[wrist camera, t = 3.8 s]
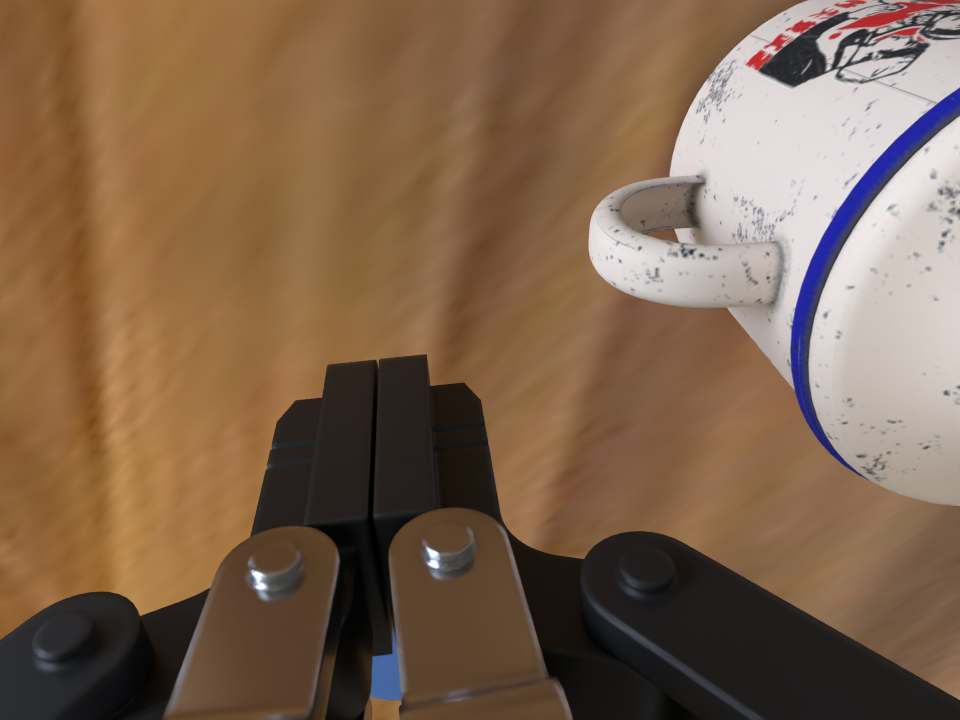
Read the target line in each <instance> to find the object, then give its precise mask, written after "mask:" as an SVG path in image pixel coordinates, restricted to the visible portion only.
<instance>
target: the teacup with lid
mask: <svg viewBox="0 0 960 720" xmlns="http://www.w3.org/2000/svg"><path fill="white" fill-rule="evenodd" d="M671 229H675V232H676V235H677V238H678V240H679V242H673V241H668V240H663V239H659V238H655V237H651V236H648V235H645V234H646V233H651V232H656V231H663V230H671ZM589 254H590V258H591V261H592V263H593V265H594V267H595V269H596V270H597V272H598V273H599V274H600V275H601V277H603V278H604V279H605V280H606V281H607V282H608V283H610V284H611V285H612V286H614V287H615V288H617V289H619V290H621V291H623V292H625V293H627V294H630V295H632V296H635V297H638V298H642V299H645V300H648V301H652V302H657V303H661V304H666V305H672V306H680V307H692V308H727V309H728V310H729V311H730V312H731V314H732V315H733V316H734V317H735V318H736V320H737V321H738V322H739V323H740V325H741V326H742V327H743V328H744V329H745V331H746V332H747V333H748V334H749V336H750V337H751V338H752V339H753V340H754V342H755V343H756V344H757V345H758V346H759V348H760V349H761V350H762V351H763V353H764V354H765V355H766V356H767V357H768V359H769V360H770V361H771V362H772V364H773V365H774V366H775V367H776V368H777V370H778V371H779V372H780V373H781V375H782V376H783V377H784V378H785V379H786V381H787V382H788V383H789V384H790V386H791V387H792V388H793V389H794V390H795V393H796V396H797V399H798V402H799V406H800V408H801V411H802V413H803V415H804V417H805V419H806V421H807V423H808V425H809V427H810V428H811V430H812V431H813V433H814V434H815V436H816V437H817V439H818V440H819V441H820V442H821V444H822V445H823V446H824V447H825V448H826V449H827V450H828V452H829V453H830V454H831V455H833V456H834V457H835V458H836V459H837V460H838V461H840V462H841V463H842V464H843V465H844V466H846V467H847V468H849V469H850V470H852V471H853V472H855V473H856V474H858V475H860V476H862V477H864V478H866V479H868V480H870V481H872V482H873V483H875V484H877V485H879V486H881V487H883V488H885V489H887V490H889V491H892V492H895V493H898V494H901V495H904V496H907V497H910V498H914V499H918V500H923V501H927V502H931V503H937V504H945V505H953V506H960V1H958V0H807V1H805V2H802V3H800V4H797V5H795V6H793V7H791V8H789V9H787V10H786V11H784V12H782V13H780V14H778V15H777V16H775V17H773V18H772V19H770V20H769V21H767V22H765V23H764V24H762V25H761V26H760V27H759V28H757V29H756V30H755V31H753V32H752V33H751V34H749V35H748V36H747V37H746V38H745V39H744V40H742V41H741V42H740V43H739V44H738V45H737V46H736V47H735V48H734V49H733V50H732V51H731V52H730V53H729V54H728V55H727V56H726V57H725V58H724V59H723V60H722V61H721V62H720V64H719V65H718V66H717V67H716V69H715V70H714V71H713V72H712V74H711V75H710V76H709V77H708V79H707V80H706V82H705V83H704V85H703V86H702V88H701V89H700V91H699V92H698V94H697V96H696V98H695V99H694V101H693V103H692V105H691V106H690V108H689V111H688V113H687V115H686V117H685V119H684V121H683V124H682V127H681V129H680V132H679V135H678V138H677V141H676V145H675V149H674V152H673V156H672V162H671V168H670V177H666V178H658V179H651V180H646V181H641V182H637V183H633V184H630V185H627V186H625V187H622V188H620V189H618V190H616V191H614V192H613V193H611V194H610V195H608V196H607V197H605V198H604V199H603V200H602V201H601V202H600V203H599V205H598V206H597V207H596V209H595V211H594V213H593V215H592V218H591V222H590V229H589Z"/></svg>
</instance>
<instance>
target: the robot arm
mask: <svg viewBox="0 0 960 720" xmlns="http://www.w3.org/2000/svg"><path fill="white" fill-rule="evenodd" d="M267 468H268V469H266V471H265V476H264V480H263V484H262V489H261V493H260V497H259V502H258V506H257V510H256V515H255V519H254V523H253V527H252V532H251V536H250V538H248V539H246V540H245V541H243V542H242V543H240V544H239V545H238V546H236V547H235V548H234V549H233V550H232V551H231V552H230V553H229V554H228V555H227V556H226V557H225V558H224V560H223V561H222V563H221V564H220V566H219V568H218V570H217V572H216V575H215V577H214V580H213V583H212V585H211V587H210V588H209V589H207V590H205V591H203V592H201V593H200V594H198V595H195V596H193V597H191V598H188V599H186V600H183V601H180V602H178V603H175V604H172V605H169V606H167V607H164V608H161V609H158V610H156V611H153V612H150V613H148V614H145V615H142V616H140V615H139V613H138V610H137V608H136V607H135V605H134V604H133V603H132V602H131V601H130V600H129V599H127V598H126V597H124V596H122V595H119V594H115V593H111V592H90V593H85V594H80V595H76V596H73V597H69V598H66V599H64V600H61V601H59V602H57V603H54V604H53V605H51V606H49V607H47V608H45V609H43V610H42V611H40V612H39V613H37V614H36V615H34V616H33V617H31V618H30V619H28V620H27V621H26V622H24V623H23V624H22V625H20V626H19V627H18V628H16V629H15V630H13V631H12V632H11V633H9V634H8V635H7V636H5V637H4V638H3V639H1V640H0V720H372V705H371V700H370V694H371V686H372V657H373V656H381V655H390V654H393V630H394V635H395V641H396V646H397V657H398V668H399V678H400V689H401V702H402V706H399V720H960V700H958V699H957V698H955V697H953V696H951V695H950V694H948V693H946V692H944V691H943V690H941V689H939V688H937V687H936V686H934V685H932V684H930V683H929V682H927V681H925V680H923V679H922V678H920V677H918V676H916V675H914V674H913V673H911V672H909V671H907V670H906V669H904V668H902V667H900V666H899V665H897V664H895V663H893V662H892V661H890V660H888V659H886V658H885V657H883V656H881V655H879V654H878V653H876V652H874V651H872V650H871V649H869V648H867V647H865V646H864V645H862V644H860V643H858V642H857V641H855V640H853V639H851V638H850V637H848V636H846V635H844V634H843V633H841V632H839V631H837V630H835V629H834V628H832V627H830V626H828V625H827V624H825V623H823V622H821V621H820V620H818V619H816V618H814V617H813V616H811V615H809V614H807V613H806V612H804V611H802V610H800V609H799V608H797V607H795V606H793V605H792V604H790V603H788V602H786V601H785V600H783V599H781V598H779V597H778V596H776V595H774V594H772V593H771V592H769V591H767V590H765V589H764V588H762V587H760V586H758V585H756V584H755V583H753V582H751V581H749V580H748V579H746V578H744V577H742V576H741V575H739V574H737V573H735V572H734V571H732V570H730V569H728V568H727V567H725V566H723V565H721V564H720V563H718V562H716V561H714V560H713V559H711V558H709V557H707V556H706V555H704V554H702V553H700V552H699V551H697V550H695V549H693V548H692V547H690V546H688V545H686V544H685V543H683V542H681V541H679V540H677V539H674V538H672V537H669V536H666V535H663V534H658V533H654V532H644V531H635V532H625V533H620V534H617V535H613V536H610V537H608V538H606V539H604V540H602V541H601V542H599V543H598V544H596V545H595V546H594V547H593V548H592V549H591V550H590V551H589V552H588V554H587V556H586V557H585V559H579V558H572V557H565V556H558V555H553V554H548V553H544V552H541V551H538V550H536V549H533V548H531V547H529V546H527V545H525V544H524V543H522V542H521V541H519V540H518V539H517V538H516V537H515V536H513V535H512V534H511V533H510V531H509V530H508V529H507V528H506V526H505V524H504V522H503V520H502V517H501V513H500V508H499V502H498V496H497V491H496V485H495V479H494V473H493V467H492V462H491V456H490V450H489V445H488V439H487V433H486V427H485V421H484V416H483V410H482V404H481V400H480V399H479V398H478V397H477V396H476V395H475V394H474V393H473V392H472V391H471V390H470V388H469V387H468V386H467V385H466V384H465V383H455V384H446V385H436V386H430V379H429V370H428V362H427V355H426V354H425V355H415V356H405V357H396V358H386V359H380V360H379V369H378V364H377V361H376V360H368V361H359V362H349V363H339V364H329V365H328V366H327V370H326V377H325V383H324V390H323V396H322V398H315V399H305V400H296V401H295V402H294V403H293V404H292V405H291V406H290V408H289V409H288V410H287V411H286V412H285V413H284V415H283V416H282V417H281V418H280V419H279V420H278V421H277V424H276V428H275V433H274V437H273V441H272V450H270V454H269V459H268V463H267Z"/></svg>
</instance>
